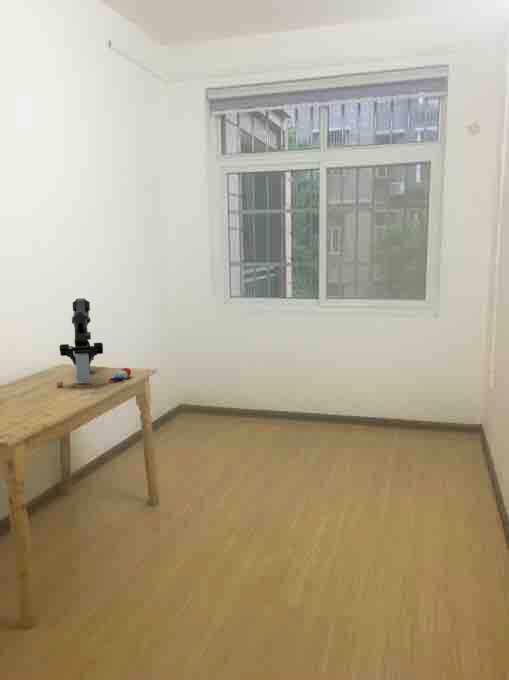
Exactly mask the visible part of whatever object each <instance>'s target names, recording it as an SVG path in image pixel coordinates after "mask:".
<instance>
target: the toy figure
mask: <svg viewBox="0 0 509 680" xmlns="http://www.w3.org/2000/svg"><path fill="white" fill-rule="evenodd" d="M131 373H132V371H131V369H130V368H128V367H124V368H122V369H120V370H119V371H118V372H117V374H115V376H113V377H111V378H110V379H108V381H107V382H110V383H109V384H114V382H115V383H120V382H124V380H126V379H128V378H130V376H131ZM120 384H121V383H120Z"/></svg>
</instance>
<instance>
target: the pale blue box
mask: <svg viewBox="0 0 509 680" xmlns="http://www.w3.org/2000/svg"><path fill="white" fill-rule="evenodd" d="M74 356H75V366H74V367H75V368H74V370H75V381H76V383H77V382H86V381H87V382H91V372H90V370H91V369H90V370H89V355H88V353H81V354H74Z"/></svg>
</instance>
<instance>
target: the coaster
mask: <svg viewBox="0 0 509 680" xmlns="http://www.w3.org/2000/svg"><path fill="white" fill-rule="evenodd" d="M93 384H94V382H93V381H84V382H77V381H76V382H74V383H73V384H72V386H74V388H77V387H84V388H89V386H90V387H93V386H94V385H93ZM92 385H93V386H92Z"/></svg>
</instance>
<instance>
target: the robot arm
mask: <svg viewBox="0 0 509 680" xmlns="http://www.w3.org/2000/svg"><path fill="white" fill-rule="evenodd" d="M90 304H91V303H90V301H88V300H87V299H86V298H84V297H83V298H75V301H72V312H73V316H71V324H72V325H73V328H74V346H72V345H70V344H69V343H62V344H60V345H59V353H60V356H61V357H67V358H69V359H70V360H71V361H72V363H73V365H74V367H75V356H74V354H81V353H88V355H89V370H90V373H91V372H93V369H91V363H92V361H95V359H94V357H95V356H98V354H99V355H102V354H104V344H103V342H93V345H91V344H90V341H89V340H91V339H92V335H91V331H88V325H89V324H90V322H91V317H90V313H89V312H90V311H91V306H90Z"/></svg>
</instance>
